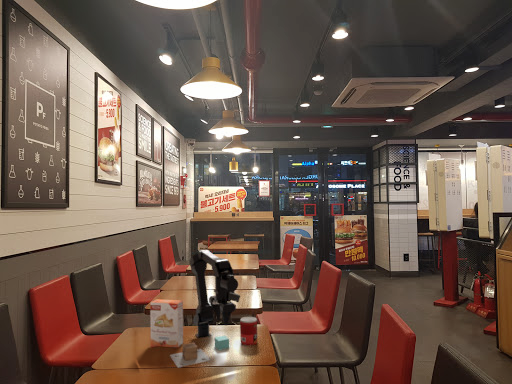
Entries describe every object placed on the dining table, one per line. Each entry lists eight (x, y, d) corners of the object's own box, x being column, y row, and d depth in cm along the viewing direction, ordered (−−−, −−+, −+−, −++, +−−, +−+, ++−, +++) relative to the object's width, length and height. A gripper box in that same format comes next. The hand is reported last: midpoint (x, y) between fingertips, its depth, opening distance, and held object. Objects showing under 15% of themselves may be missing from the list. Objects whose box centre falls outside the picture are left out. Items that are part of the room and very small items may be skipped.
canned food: (257, 345, 167) (256, 321, 167) (240, 345, 167) (239, 321, 168) (257, 339, 175) (257, 316, 175) (241, 339, 175) (240, 316, 175)
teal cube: (214, 348, 165) (214, 337, 165) (225, 346, 167) (224, 335, 167) (218, 352, 160) (218, 341, 160) (229, 350, 163) (229, 338, 163)
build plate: (169, 357, 156) (169, 354, 156) (200, 350, 162) (200, 347, 162) (177, 370, 143) (177, 366, 144) (211, 362, 150) (211, 359, 150)
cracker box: (150, 347, 167) (149, 301, 168) (156, 342, 173) (156, 298, 174) (178, 350, 164) (177, 303, 165) (183, 345, 170) (183, 299, 171)
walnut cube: (182, 356, 154) (182, 344, 154) (193, 354, 156) (193, 342, 156) (185, 360, 150) (185, 348, 150) (197, 358, 152) (197, 346, 152)
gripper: (246, 289, 160) (247, 325, 159) (230, 281, 177) (230, 314, 176) (222, 292, 155) (223, 329, 154) (208, 284, 172) (208, 317, 171)
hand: (222, 322), depth 164 cm, fingers open, 9 cm apart
